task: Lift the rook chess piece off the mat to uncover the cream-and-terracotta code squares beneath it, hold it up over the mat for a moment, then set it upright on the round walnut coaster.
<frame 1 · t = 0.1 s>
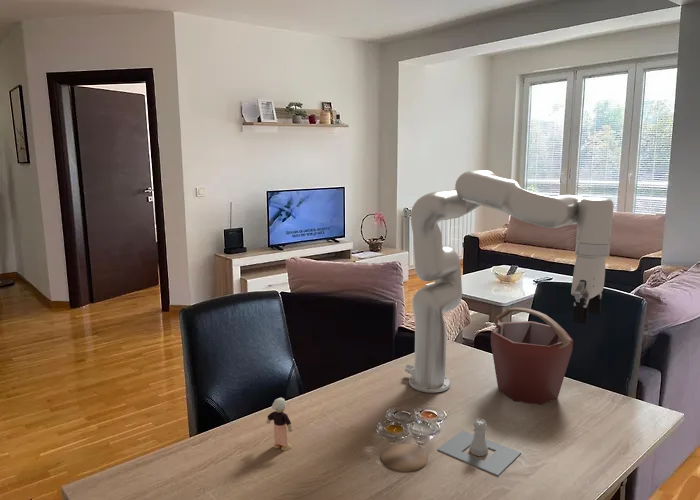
hand: (586, 317, 132), 31 cm above the table, tool pointing down, fingers open, 9 cm apart
rook chess piece: (478, 452, 130), on the table, touching code mat
code mat: (478, 452, 130), on the table
walnut coaster: (404, 458, 128), on the table
bucket: (528, 391, 163), on the table
grandmother figurine: (280, 446, 133), on the table
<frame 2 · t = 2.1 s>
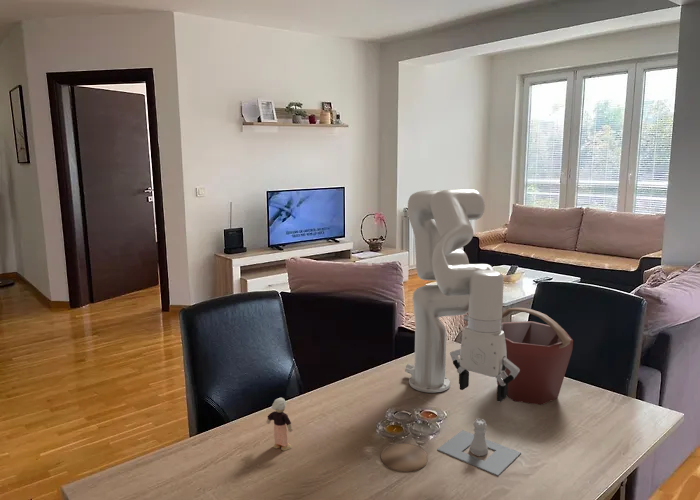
hand: (482, 393, 127), 15 cm above the table, tool pointing down, fingers open, 9 cm apart
nothing on the table moved.
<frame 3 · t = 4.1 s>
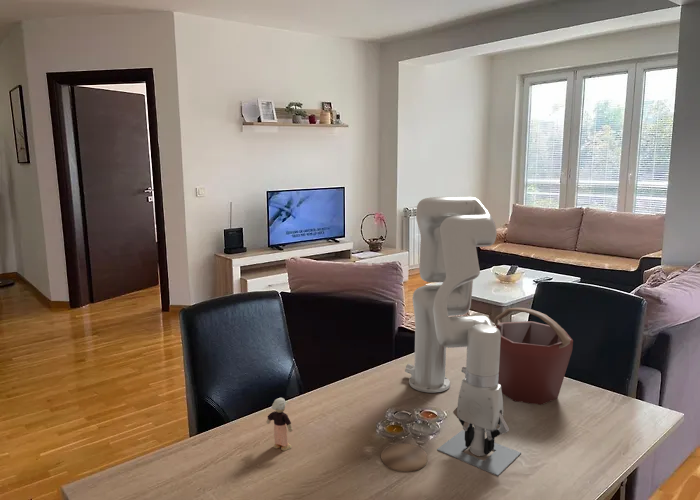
hand: (478, 447, 130), 1 cm above the table, tool pointing down, fingers closed on rook chess piece, 4 cm apart
rook chess piece: (478, 452, 130), on the table, touching code mat, gripper
everything else where it was.
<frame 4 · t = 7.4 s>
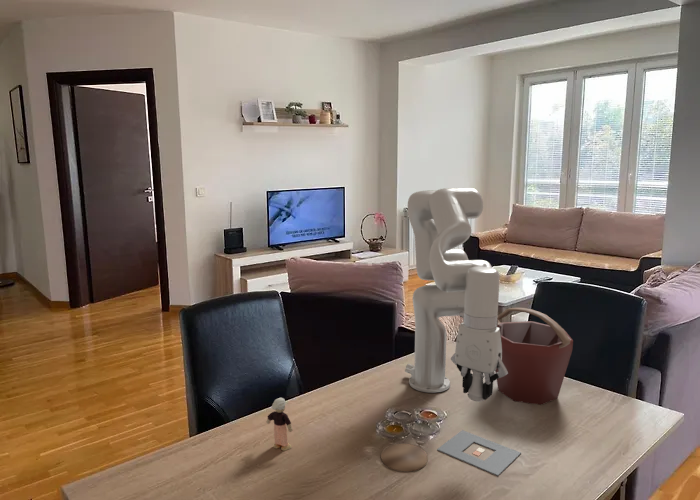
hand: (477, 393, 127), 15 cm above the table, tool pointing down, fingers closed on rook chess piece, 4 cm apart
rook chess piece: (476, 398, 127), point 14 cm above the table, touching gripper
everything else where it was.
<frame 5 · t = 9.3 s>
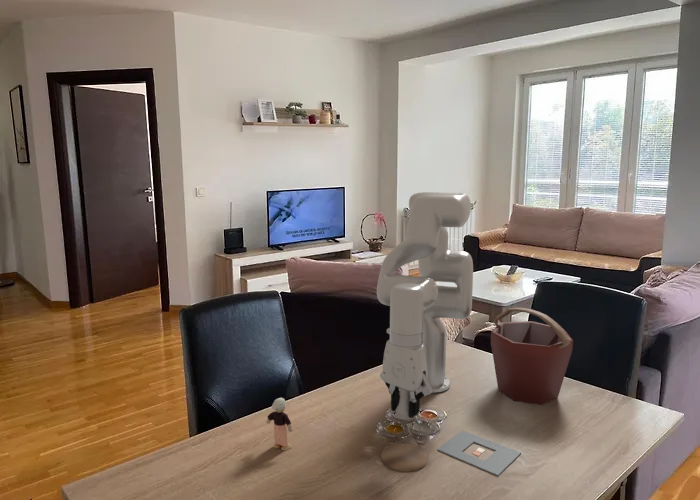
hand: (405, 411, 125), 12 cm above the table, tool pointing down, fingers closed on rook chess piece, 4 cm apart
rook chess piece: (404, 416, 125), point 11 cm above the table, touching gripper
everything else where it was.
when the fingers open (3 cm above the table, at t = 11.1 s): rook chess piece drops 1 cm, resting on walnut coaster.
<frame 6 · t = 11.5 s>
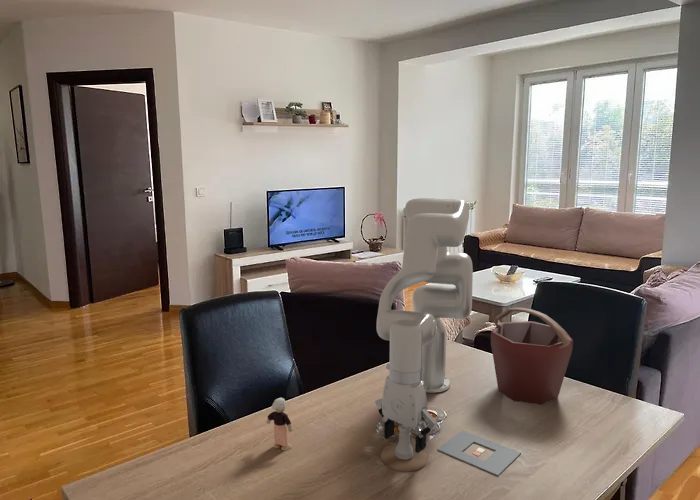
hand: (404, 443, 127), 4 cm above the table, tool pointing down, fingers open, 8 cm apart
rook chess piece: (404, 456, 128), resting on walnut coaster
everything else where it was.
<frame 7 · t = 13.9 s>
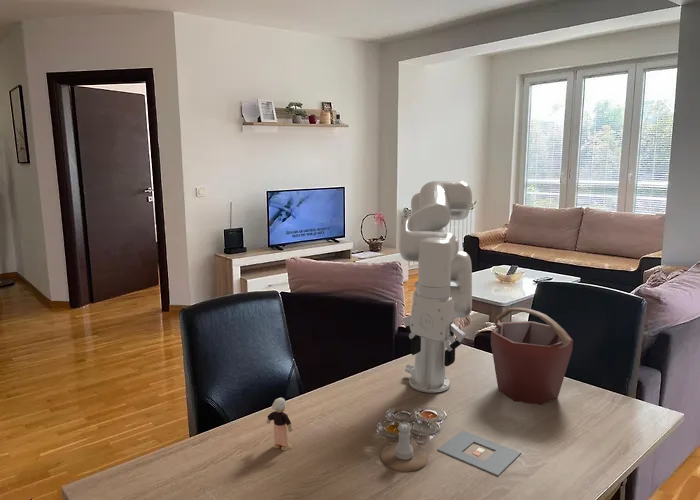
hand: (432, 358, 130), 22 cm above the table, tool pointing down, fingers open, 9 cm apart
nothing on the table moved.
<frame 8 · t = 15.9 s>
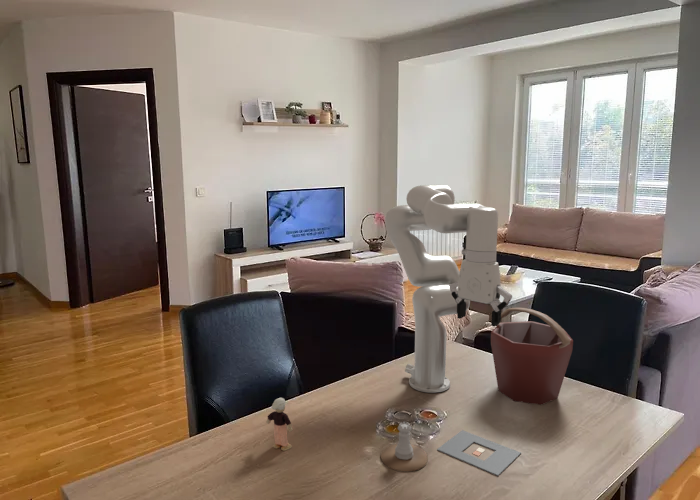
hand: (478, 321, 139), 28 cm above the table, tool pointing down, fingers open, 9 cm apart
nothing on the table moved.
at the end: rook chess piece 0.2 cm from the walnut coaster (horizontally); rook chess piece tilted 0°; the gripper is holding nothing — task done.
